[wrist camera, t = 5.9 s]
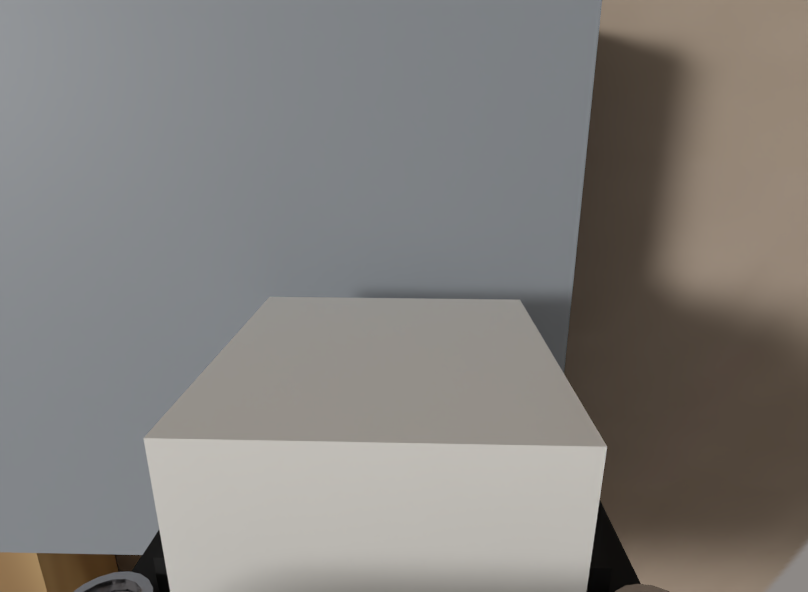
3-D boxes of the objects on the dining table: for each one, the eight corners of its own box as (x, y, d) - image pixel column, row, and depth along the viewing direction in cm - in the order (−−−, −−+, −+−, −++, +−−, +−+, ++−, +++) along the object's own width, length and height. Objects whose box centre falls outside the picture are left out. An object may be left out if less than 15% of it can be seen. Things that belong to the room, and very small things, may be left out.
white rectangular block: (519, 299, 10) (618, 464, 5) (496, 608, 13) (547, 924, 8) (269, 296, 10) (129, 454, 5) (294, 603, 13) (213, 909, 8)
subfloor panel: (561, 23, 13) (602, -8, 10) (508, 671, 20) (524, 764, 17) (-69, 28, 13) (-204, 0, 10) (91, 661, 20) (37, 750, 17)
